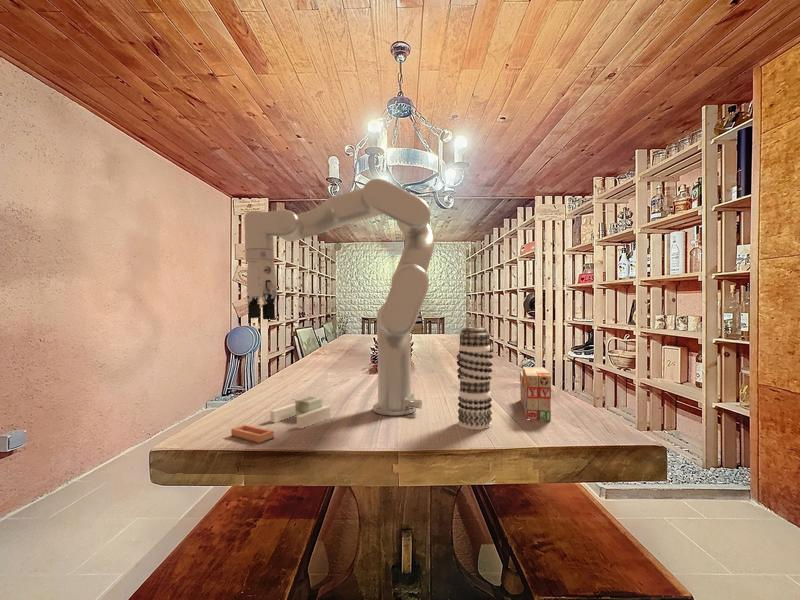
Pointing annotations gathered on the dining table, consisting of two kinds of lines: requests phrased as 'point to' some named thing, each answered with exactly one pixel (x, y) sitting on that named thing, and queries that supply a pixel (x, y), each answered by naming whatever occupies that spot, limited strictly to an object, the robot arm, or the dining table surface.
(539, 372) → the stack of blocks
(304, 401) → the sage block
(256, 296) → the robot arm
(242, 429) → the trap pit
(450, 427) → the dining table surface
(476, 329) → the decorative candle
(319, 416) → the walled channel
